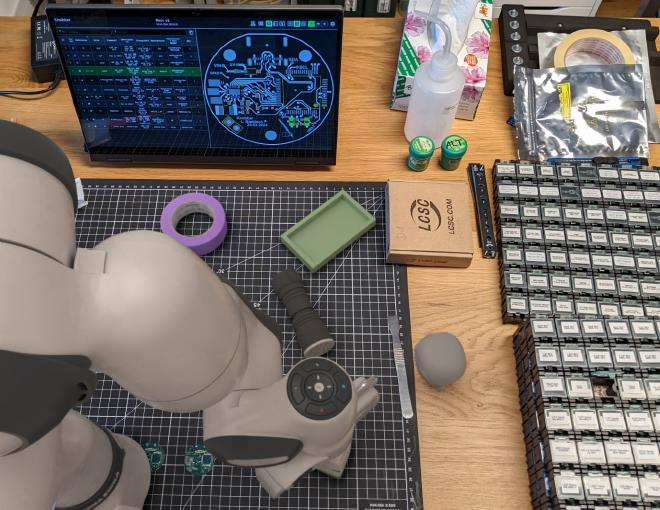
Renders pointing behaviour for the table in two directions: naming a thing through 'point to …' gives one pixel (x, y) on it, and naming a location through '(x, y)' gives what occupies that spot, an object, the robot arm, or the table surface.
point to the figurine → (440, 359)
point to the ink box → (336, 464)
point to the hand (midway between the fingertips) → (320, 447)
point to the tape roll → (189, 205)
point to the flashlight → (302, 314)
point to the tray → (327, 230)
